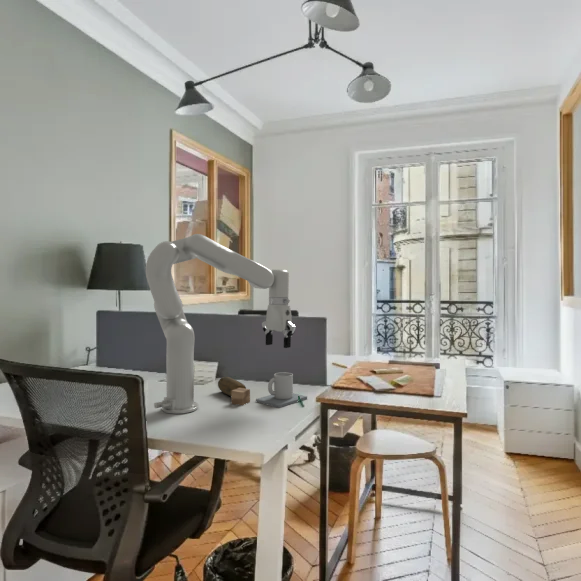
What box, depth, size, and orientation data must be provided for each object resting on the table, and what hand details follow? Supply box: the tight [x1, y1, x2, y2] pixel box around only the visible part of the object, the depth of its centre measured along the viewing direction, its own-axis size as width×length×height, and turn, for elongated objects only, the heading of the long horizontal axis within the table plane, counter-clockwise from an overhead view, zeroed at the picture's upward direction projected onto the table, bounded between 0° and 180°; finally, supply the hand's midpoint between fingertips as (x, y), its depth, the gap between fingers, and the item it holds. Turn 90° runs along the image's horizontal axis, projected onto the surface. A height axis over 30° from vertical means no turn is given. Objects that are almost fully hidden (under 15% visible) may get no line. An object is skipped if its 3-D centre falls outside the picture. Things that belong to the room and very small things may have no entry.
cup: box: [267, 371, 294, 400], centre depth 176 cm, size 7×10×9 cm
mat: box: [255, 392, 308, 409], centre depth 176 cm, size 16×12×1 cm
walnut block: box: [231, 388, 251, 406], centre depth 172 cm, size 5×5×5 cm
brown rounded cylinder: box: [217, 376, 247, 398], centre depth 183 cm, size 15×7×7 cm, turn 40°
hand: (277, 346), depth 176 cm, fingers open, 9 cm apart
